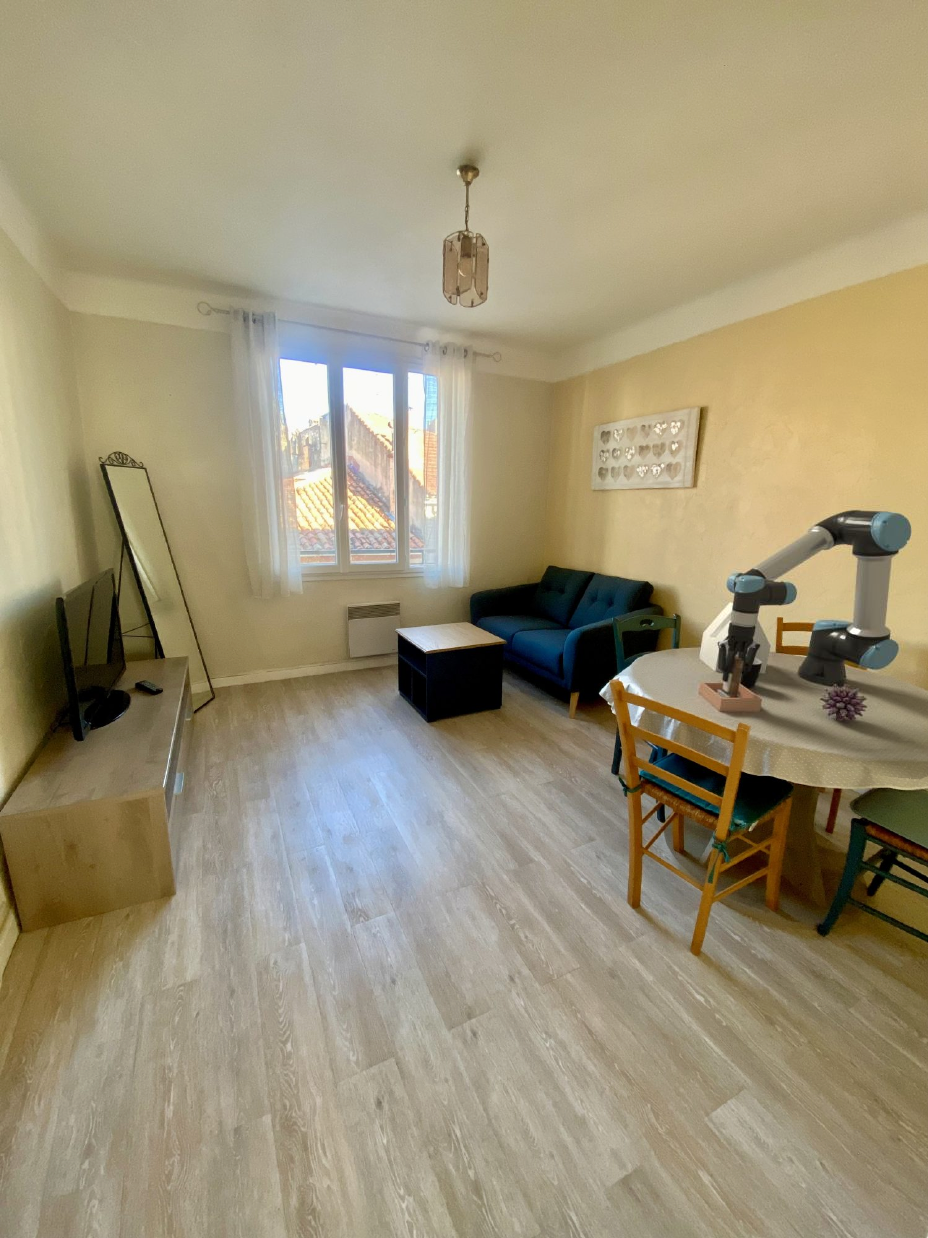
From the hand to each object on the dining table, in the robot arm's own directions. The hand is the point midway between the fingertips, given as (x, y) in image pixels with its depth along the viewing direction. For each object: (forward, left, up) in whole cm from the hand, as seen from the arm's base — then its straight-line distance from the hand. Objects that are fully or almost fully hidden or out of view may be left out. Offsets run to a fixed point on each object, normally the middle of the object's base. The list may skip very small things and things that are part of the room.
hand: (730, 690), depth 161 cm
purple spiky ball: (-29, +12, -5) cm, 32 cm away
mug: (-14, -16, -5) cm, 22 cm away
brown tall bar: (0, 0, -3) cm, 3 cm away
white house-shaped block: (-21, -35, -5) cm, 41 cm away
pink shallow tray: (0, 0, -5) cm, 5 cm away
